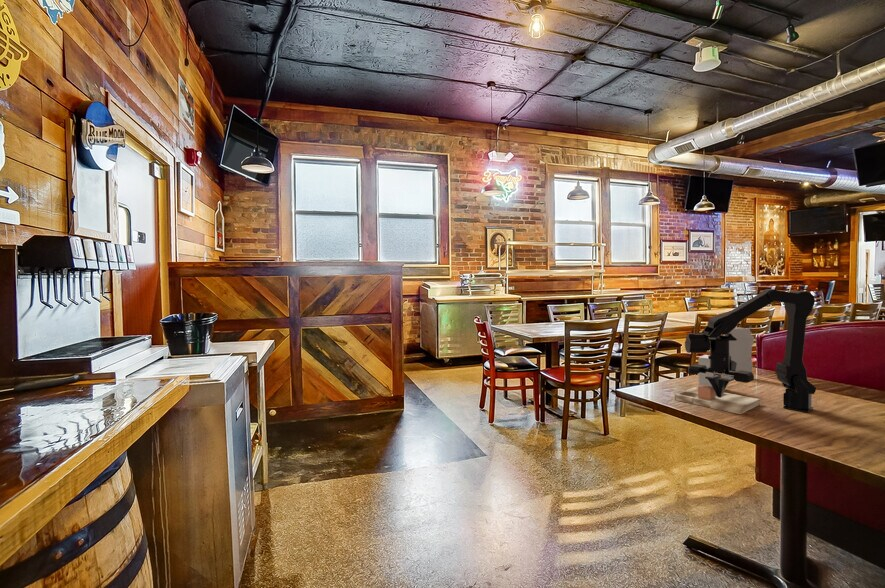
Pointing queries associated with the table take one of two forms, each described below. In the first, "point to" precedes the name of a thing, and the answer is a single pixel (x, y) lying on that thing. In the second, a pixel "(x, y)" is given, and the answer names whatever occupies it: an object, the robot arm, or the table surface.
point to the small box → (702, 381)
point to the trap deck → (719, 401)
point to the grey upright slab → (741, 349)
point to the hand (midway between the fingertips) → (719, 397)
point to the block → (706, 392)
